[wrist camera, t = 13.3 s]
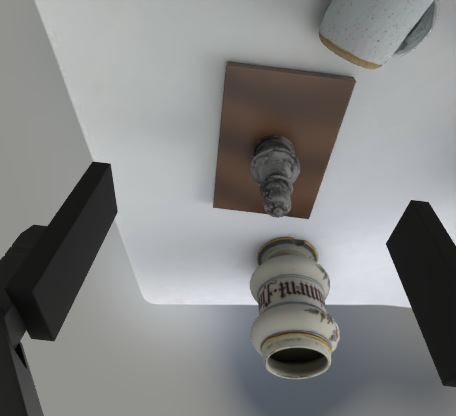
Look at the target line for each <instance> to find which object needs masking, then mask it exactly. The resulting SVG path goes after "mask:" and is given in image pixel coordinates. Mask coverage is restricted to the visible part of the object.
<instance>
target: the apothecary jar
mask: <svg viewBox="0 0 456 416" xmlns="http://www.w3.org/2000/svg"><path fill="white" fill-rule="evenodd" d="M317 261H318V254H317V252H316V250H315V248H314V247H313V246H312V245H311V244H309V243H308V242H306V241H296V240H294V239H293V238H279V239H275V240H273V241H270V242H268V243H267V244H265V245H264V246H263V247H262V248H261V250H260V251H259V253H258V264H259V267H258V268H257V269H256V270H255V271H254V273H253V275H252V277H251V280H250V290H251V293H252V296H253V297H254V299H255V300H256V301H257V303H258V304H259V317H257V319H256V320H255V321H254V323H253V325H252V327H251V332H250V337H251V341H252V344H253V346H254V347H255V349H256V350H257V351H258V352H259V353H260V354H261V355H262V356H263V360H264V365H265V367H266V369H267V370H268V371H269V372H271V373H273V374H274V375H277V376H280V377H283V378H289V379H303V378H309V377H314V376H317V375H319V374H321V373H323V372H325V371H326V370H327V369H328V368H329V366H330V364H331V353H332V352H333V351H334V350H335V349H336V347H337V345H338V343H339V338H340V333H339V328H338V326H337V323H336V322H335V320H334V319H333V318H332V317H331V316H330V315H329V314H327V312H326V307H325V299H326V297H327V296H328V293H329V290H330V280H329V277H328V275H327V273H326V271H325V270H324V269H323V268H322V267H321V266H320V265H319V264H318V263H317Z"/></svg>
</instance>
